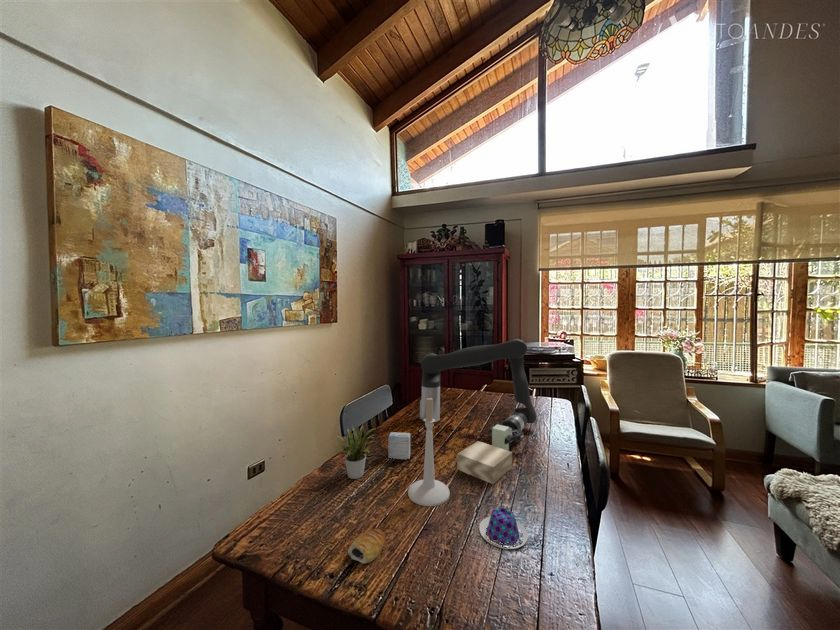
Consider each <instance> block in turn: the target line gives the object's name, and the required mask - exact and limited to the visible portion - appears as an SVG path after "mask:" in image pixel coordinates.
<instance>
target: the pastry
mask: <svg viewBox="0 0 840 630" xmlns="http://www.w3.org/2000/svg"><path fill="white" fill-rule="evenodd" d="M385 544H386V534H385V533H384V532H383V531H382V530H381V529H380V528H374V529H370V530H368V531H364V532H363V533H360V534H359V535H358V537H355V538H354V539H353V540H352V542H351V545H350V546H349V548H348V549H347V554H348V555H349V557H350V558H351V559H352V560H354V561H357V562H360V563H361V564H370V563H372V562H374V561H375V559H376V558H378V557H379V555H380V553H381V552H382V550H383V548H384V546H385ZM378 554H379V555H378ZM373 560H374V561H373Z"/></svg>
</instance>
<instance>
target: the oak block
mask: <svg viewBox="0 0 840 630" xmlns="http://www.w3.org/2000/svg"><path fill="white" fill-rule="evenodd" d="M456 457H457V460H456V461H457V464H456V467H457V468H456V470H457V469H458V471H460V472H462V473H464V474H467V475H469V476H472V477H475V478H477V479H479V480H482V481H484V482H487V483H488V484H491V485H494V484H495V483H497V482H498V481H499V480H500V479H501V478H502V477H503V476H504V475H506V473H508V472H509V471H510V470H511V469H512V468H513V451H511V450H509V451H507V450H504V449H501V448H498V447H495V446H492V444H489V443H486V442H482V441H479V440H478V441H475V442H474V443H473V444H470V445H469V446H467V447H465V449H462V450H461V451H459V452H457V456H456Z"/></svg>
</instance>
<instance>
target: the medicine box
mask: <svg viewBox="0 0 840 630" xmlns="http://www.w3.org/2000/svg"><path fill="white" fill-rule="evenodd" d="M387 440H388V459H389V458H391V459H392V458H393V459H392V460H407V459H409V460H410V457H411V433H410V432H394V431H391V432H390V433H389V435H388V439H387Z"/></svg>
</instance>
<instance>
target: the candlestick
mask: <svg viewBox="0 0 840 630" xmlns="http://www.w3.org/2000/svg"><path fill="white" fill-rule="evenodd" d="M423 422H424V423H425V424H424V426H425V427H426V431H425V445H424V446H425V447H424V462H423V476H422V478H423V479H419V480H417V481H415V482H413V483H412V484H410V486H409V487H408V489H407V496H408V497H409V499H410V501H412V502H413V503H414V504H416V505H420V506H422V507H436V506H440V505H443V504H444V503H446V502H447V501H448V500H449V498H450V494H451V492H450V489H449V487H448V486H447V485H446V484H445V483H444V482H442V481H440V480H437V479H436V478H435V464H434V458H435V457H434V438H433V437H434V436H433V427H434V425H435V424H434V423H436V422H435V419H433V399H432V398H430V397H429V398H427V399H426V419H424V421H423Z"/></svg>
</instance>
